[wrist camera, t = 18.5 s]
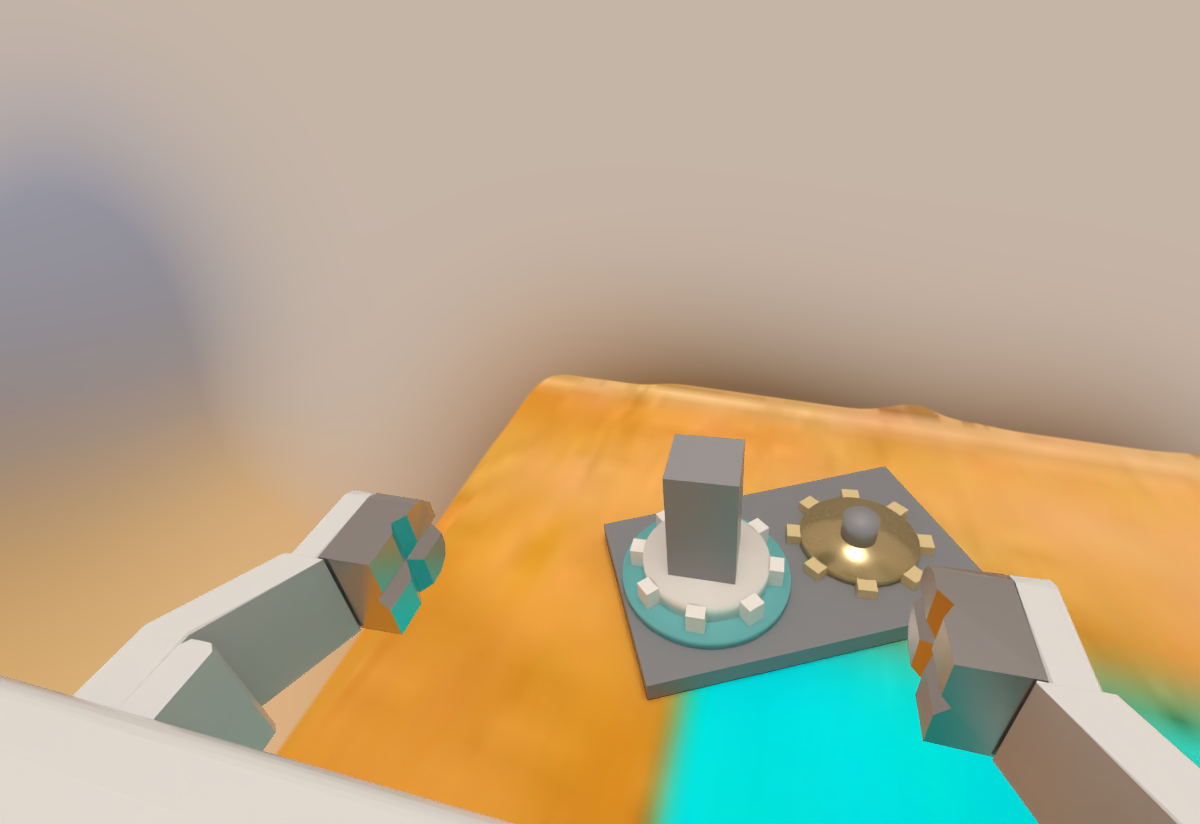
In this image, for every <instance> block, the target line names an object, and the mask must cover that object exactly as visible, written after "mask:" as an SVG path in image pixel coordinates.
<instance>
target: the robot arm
mask: <svg viewBox="0 0 1200 824" xmlns="http://www.w3.org/2000/svg"><path fill="white" fill-rule="evenodd" d="M434 517H435V514H434V511H433V509H432V507H431V504H430V502H426V501H423V500H418V499H411V498H405V497H399V496H392V495H386V494H380V493H371V492H365V491H358V490H353V491H351V492H349V493H347V494H345V495H344V496H343V497H342V498H341V499H340V500H339V502H338V503H337V504H336V505H335V506H334V507H333V508H332V509H331V510H330V512H329V513H328V514H327V515H326V516H325V517H324V518H323V519H322V521H321V522H320V523H319V524H318V525H317V526H316V527H315V528H314V529H313V530H312V532H311V533H310V534H309V535H308V536H307V537H306V538H305V539H304V541H303V542H302V543H301V544H300V545H299V546H298V547H297V548H296V549H295V550H294V552H293V553H292V554H290V553H283V554H281V555H279V556H277V557H275V558H274V559H272V560H270V561H268V562H266V563H264V564H262V565H260V566H258V567H256V568H254V569H252V570H250V571H248V572H246V573H245V574H243V575H241V576H239V577H237V578H235V579H233V580H231V581H229V582H227V583H225V584H223V585H221V586H219V587H217V588H216V589H214V590H212V591H210V592H208V593H206V594H204V595H202V596H200V597H198V598H196V599H194V600H192V601H190V602H188V603H187V604H185V605H183V606H181V607H179V608H177V609H175V610H173V611H171V612H169V613H167V614H165V615H163V616H162V617H159V618H158V619H156V620H154V621H152V622H150V623H148V624H146V625H144V626H143V627H142V628H141V629H140V631H138V632H137V633H136V634H135V635H134V636H133V637H132V638H131V639H130V640H129V641H128V642H127V643H126V644H125V645H124V646H123V647H122V648H121V649H120V650H119V651H118V652H117V653H116V654H115V655H114V656H113V657H112V658H111V659H110V660H109V661H108V662H107V663H106V664H105V665H104V666H103V667H101V668H100V669H99V670H98V671H97V672H96V673H95V674H94V675H93V677H91V678H90V679H89V680H88V681H87V682H86V683H85V684H84V685H83V686H82V687H81V688H80V689H79V690H78V691H77V692H76V693H75V694H74V695H73V696H70V695H67V694H63V693H60V692H56V691H53V690H49V689H46V688H42V687H39V686H35V685H32V684H28V683H25V682H21V681H17V680H14V679H11V678H7V677H4V676H0V824H515V823H511V822H508V821H504V820H501V819H497V818H494V817H490V816H487V815H483V814H480V813H476V812H473V811H470V810H466V809H463V808H459V807H456V806H452V805H449V804H445V803H442V802H438V801H435V800H431V799H428V798H424V797H421V796H418V795H414V794H411V793H407V792H404V791H400V790H397V789H393V788H390V787H386V786H383V785H379V784H376V783H372V782H369V781H365V780H362V779H358V778H355V777H352V776H348V775H345V774H341V773H338V772H334V771H331V770H327V769H324V768H320V767H317V766H313V765H310V764H306V763H303V762H299V761H296V760H292V759H289V758H286V757H282V756H279V755H275V754H272V753H268V752H264V751H263V750H264V748H265V747H266V745H267V744H268V743H269V741H270V740H271V738H272V737H273V735H274V734H275V732H276V731H275V723H274V722H273V720H272V719H271V718H270V717H269V716H268V714H267V713H266V712H265V710H264V709H263V708H262V706H263V705H264V704H265V703H267V702H268V701H269V700H271V699H272V698H273V697H274V696H276V695H277V694H278V693H280V692H281V691H282V690H283V689H285V688H286V687H288V686H289V685H290V684H291V683H293V682H294V681H295V680H297V679H298V678H299V677H301V676H302V675H303V674H304V673H305V672H307V671H308V670H310V669H311V668H312V667H313V666H315V665H316V664H317V663H319V662H320V661H321V660H323V659H324V658H325V657H326V656H328V655H329V654H331V653H332V652H333V651H334V650H336V649H337V648H338V647H340V646H341V645H342V644H343V643H345V642H346V641H347V640H349V639H350V638H351V637H353V636H354V635H355V634H357V633H358V632H359V631H360V630H361V629H360V628H366V629H372V630H378V631H384V632H390V633H396V634H401V635H402V634H403V632H404V631H405V629H406V628H407V626H408V624H409V623H410V621H411V619H412V618H413V616H414V615H415V613H416V611H417V610H418V608H419V606H420V605H421V596H420V592H421V591H422V590H424V589H426V588H427V587H429V586H430V585H432V584H433V583H434V582H435V580H436V578H437V577H438V575H439V573H440V572H441V569H442V566H443V562H444V558H445V542H444V539H443V536H442V533H441V532H440V531H439V530H438V529H437V528H436V527H434V526H433V525H432V524H431V522H432V521H433V519H434ZM920 588H921V593H922V597H921V598H920V599H918V600H916V601H914V602H913V605H912V609H911V613H910V617H909V627H908V647H909V656H910V663H911V667H912V668H913V669H914V670H915V671H916V672H917V674H918V675H919V676H920V677H921V681H920V683H919V686H918V689H917V692H916V701H917V707H918V713H919V719H920V725H921V731H922V737H923V741H926V742H930V743H935V744H939V745H943V746H948V747H952V748H957V749H961V750H965V751H970V752H974V753H978V754H983V755H987V756H992V757H994V758H993V762H994V763H995V764H996V766H997V767H998V768H999V770H1000V771H1001V772H1002V774H1003V775H1004V777H1005V778H1006V779H1007V781H1008V782H1009V783H1010V785H1011V786H1012V787H1013V789H1014V790H1015V792H1016V793H1017V794H1018V796H1019V797H1020V798H1021V800H1022V801H1023V802H1024V804H1025V805H1026V807H1027V808H1028V809H1029V811H1030V812H1031V813H1032V815H1033V816H1034V817H1035V819H1036V820H1037V822H1038V823H1039V824H1200V768H1199V767H1198V766H1196V765H1195V764H1194V763H1193V762H1192V761H1191V760H1190V759H1189V758H1187V757H1186V756H1185V755H1184V754H1183V753H1182V752H1181V751H1180V750H1178V749H1177V748H1176V747H1175V746H1174V745H1173V744H1172V743H1171V742H1169V741H1168V740H1167V739H1166V738H1165V737H1164V736H1163V735H1162V734H1160V733H1159V732H1158V731H1157V730H1156V729H1155V728H1154V727H1153V726H1151V725H1150V724H1149V723H1148V722H1147V721H1146V720H1145V719H1144V718H1142V717H1141V716H1140V715H1139V714H1138V713H1137V712H1136V711H1135V710H1133V709H1132V708H1131V707H1130V706H1129V705H1128V704H1127V703H1126V702H1124V701H1123V700H1122V699H1121V698H1120V697H1119V696H1118V695H1115V694H1110V693H1105V692H1102V689H1101V687H1100V685H1099V682H1098V680H1097V678H1096V675H1095V673H1094V671H1093V668H1092V666H1091V664H1090V661H1089V659H1088V657H1087V654H1086V652H1085V650H1084V647H1083V645H1082V643H1081V640H1080V638H1079V636H1078V633H1077V631H1076V629H1075V626H1074V624H1073V622H1072V619H1071V617H1070V615H1069V612H1068V610H1067V608H1066V605H1065V603H1064V601H1063V598H1062V596H1061V594H1060V591H1059V589H1058V587H1057V586H1056V585H1055V584H1054V583H1053V582H1052V581H1051V580H1044V579H1036V578H1028V577H1020V576H1012V575H1007V576H1006V575H1004V574H998V573H989V572H981V571H973V570H964V569H956V568H948V567H939V566H931V565H927V567H926V568H925V569H924V570H923V573H922V576H921V579H920Z"/></svg>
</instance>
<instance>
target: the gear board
mask: <svg viewBox="0 0 1200 824" xmlns="http://www.w3.org/2000/svg"><path fill="white" fill-rule="evenodd" d="M756 518H758V519H760V520H761V521H762V522H763V523H764V524H765V525H767V526H768V527H769V536H768V543H766V545H767V547H768V550H769V554H770V556H772V557H780V558H784V577H783V586H782V587H779V586H772V585H768V586H767V589H766V591H765V593H764V595H763V597H762V598H761V599H762V600H763V601H764V602H765V605H764V617H763V618H762V619H760V620H759V621H757V622H755V623H754V624H752V625H750V626H748V625H747V624H746V623H745V622H744V621H743V620H742V619H741V618H740V616H737V617H735V618H732V619H728V620H724V621H715V622H706V627H705V634H701V633H695V632H689V631H686V630H685V617H682V616H679V615H677V614H675V613H673V612H671V611H670V610H668V609H667V608H665V607H664V606H663V605H662V604H660V603H659V604H658V605H656V606H654V607H652V608H650V609H649V610H648V609H647V608H646V606H645V605H644V604H643V603H642V601H641V600H640V599H639V598H638V588H637V583H638V582H640V581H641V580H643V579H645V575H644V567H642V566H635V565H631V556H630V549H631V545H632V542H633V539H634V538H636V539H644V540H647V538H648V536H649V535H650V533H651V532H652V531H653V530H654V529H655V528H656V527H657V525H656V514H652V515H647V516H643V517H638V518H633V519H628V520H623V521H618V522H613V523H609V524H604V529H605V536H606V541H607V545H608V548H609V552H610V556H611V560H612V564H613V568H614V571H615V575H616V579H617V583H618V587H619V591H620V595H621V598H622V602H623V606H624V610H625V614H626V618H627V621H628V625H629V629H630V633H631V637H632V641H633V645H634V648H635V652H636V656H637V660H638V664H639V668H640V671H641V675H642V679H643V683H644V687H645V691H646V695H647V698H648V700H650V699H654V698H658V697H663V696H667V695H671V694H675V693H680V692H684V691H688V690H692V689H697V688H701V687H705V686H709V685H714V684H718V683H722V682H726V681H731V680H735V679H739V678H743V677H748V676H752V675H756V674H760V673H765V672H769V671H773V670H777V669H782V668H786V667H790V666H794V665H798V664H803V663H807V662H811V661H815V660H820V659H824V658H828V657H832V656H837V655H841V654H845V653H849V652H854V651H858V650H862V649H866V648H871V647H875V646H879V645H883V644H888V643H892V642H896V641H900V640H905V639H908V627H909V617H910V613H911V609H912V605H913V602H914V601H916V600H918V599H920V598H921V597H922V593H921V588H920V579H921V576H922V573H923V570H924V569H925V568H926V567H927V565H931V566H939V567H948V568H956V569H964V570H973V571H981V570H980V568H979V567H978V566H977V565H976V564H975V563H974V562H973V561H972V560H971V559H970V558H969V557H968V555H967V554H966V553H965V552H964V551H963V550H962V549H961V548H960V547H959V546H958V545H957V544H956V543H955V541H954V540H953V539H952V538H951V537H950V536H949V535H948V534H947V533H946V532H945V531H944V530H943V529H942V527H941V526H940V525H939V524H938V523H937V522H936V521H935V520H934V519H933V518H932V517H931V516H930V514H929V513H928V512H927V511H926V510H925V509H924V508H923V507H922V506H921V505H920V504H919V503H918V502H917V500H916V499H915V498H914V497H913V496H912V495H911V494H910V493H909V492H908V491H907V490H906V489H905V488H904V486H903V485H902V484H901V483H900V482H899V481H898V480H897V479H896V478H895V477H894V476H893V475H892V473H891V472H890V471H889V470H888V469H887V468H886V467H880V468H875V469H870V470H865V471H861V472H856V473H851V474H846V475H841V476H836V477H831V478H827V479H822V480H817V481H812V482H807V483H802V484H798V485H793V486H788V487H783V488H778V489H773V490H768V491H764V492H759V493H754V494H749V495H744V496H742V517H741V520H743V521H745V522H746V523H749V522H751V521H753V520H754V519H756ZM981 572H982V571H981Z"/></svg>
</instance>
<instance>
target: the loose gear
mask: <svg viewBox="0 0 1200 824" xmlns="http://www.w3.org/2000/svg"><path fill="white" fill-rule="evenodd" d="M744 451H745V440H742V439H730V438H717V437H705V436H693V435H680V434H675V436H674V440H673V444H672V447H671V451H670V454H669V458H668V461H667V465H666V469H665V472H664V476H663V494H664V510H663V511H661V512H659V513H657V514H656V525H657V527H656V528H655V529H654V530H653V531H652V532H651V533H650V535H649V536H648V538H647V540H644V539H636V538H634V539H633V542H632V545H631V549H630V556H631V565H635V566H642V567H644V575H645V579H643V580H641V581H640V582H638V583H637V588H638V598H639V599H640V600H641V601H642V603H643V604H644V605H645V606H646V608H647V609H648V610H649V609H650V608H652V607H654V606H656V605H658V604H659V603H660V604H662V605H663V606H664V607H665V608H667V609H668V610H670V611H671V612H673V613H675V614H677V615H679V616H682V617H685V630H686V631H689V632H695V633H701V634H705V627H706V622H715V621H724V620H728V619H732V618H735V617H737V616H740V618H741V619H742V620H743V621H744V622H745V623H746V624H747V625H748V626H750V625H752V624H754V623H755V622H757V621H759V620H760V619H762V618H763V617H764V605H765V602H764V601H763V600H762V599H761V598H762V597H763V595H764V593H765V591H766V589H767V586H768V585H772V586H779V587H782V586H783V577H784V558H780V557H772V556H770V554H769V550H768V547H767V545H766V543H768V536H769V527H768V526H767V525H765V524H764V523H763V522H762V521H761V520H760V519H758V518H756V519H754V520H753V521H751V522H749V523H746V522H745V521H743V520H741V517H742V495H743V473H744Z"/></svg>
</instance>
